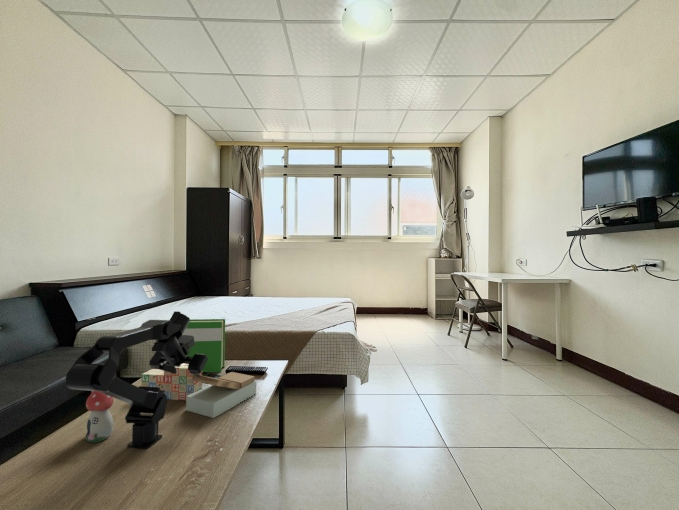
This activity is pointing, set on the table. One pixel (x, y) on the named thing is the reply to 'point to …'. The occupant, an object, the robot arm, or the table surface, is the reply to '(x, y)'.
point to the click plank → (216, 382)
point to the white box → (221, 395)
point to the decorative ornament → (99, 417)
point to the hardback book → (208, 341)
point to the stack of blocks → (172, 382)
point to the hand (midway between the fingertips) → (187, 374)
